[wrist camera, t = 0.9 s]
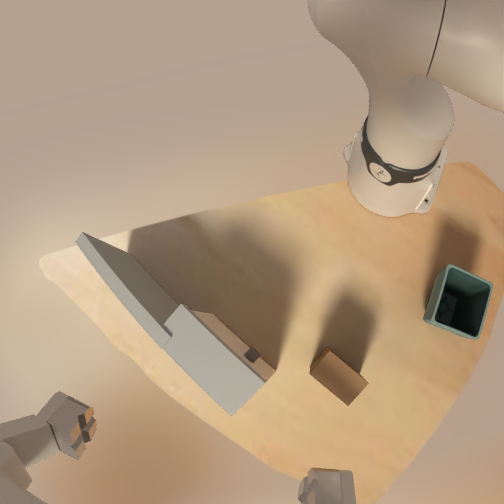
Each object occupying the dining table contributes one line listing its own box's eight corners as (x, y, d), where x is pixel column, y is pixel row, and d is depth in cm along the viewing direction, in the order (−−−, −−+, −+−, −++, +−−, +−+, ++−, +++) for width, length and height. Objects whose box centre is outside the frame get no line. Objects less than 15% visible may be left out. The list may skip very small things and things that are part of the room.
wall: (144, 238, 58) (97, 212, 44) (279, 367, 48) (264, 383, 34) (125, 262, 58) (75, 241, 44) (254, 393, 48) (230, 417, 33)
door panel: (218, 307, 52) (191, 301, 41) (282, 365, 48) (271, 376, 36) (206, 320, 52) (177, 317, 40) (269, 378, 48) (255, 392, 36)
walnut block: (327, 346, 47) (329, 350, 39) (359, 373, 45) (368, 383, 37) (310, 365, 47) (309, 373, 39) (342, 392, 45) (348, 405, 37)
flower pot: (469, 291, 44) (494, 283, 36) (454, 340, 43) (478, 341, 35) (428, 273, 47) (448, 262, 38) (411, 323, 45) (430, 322, 37)
